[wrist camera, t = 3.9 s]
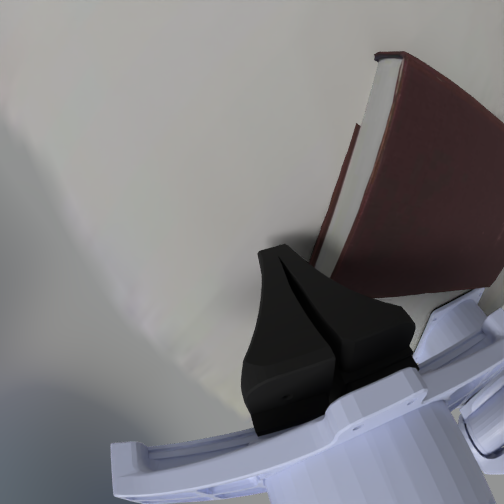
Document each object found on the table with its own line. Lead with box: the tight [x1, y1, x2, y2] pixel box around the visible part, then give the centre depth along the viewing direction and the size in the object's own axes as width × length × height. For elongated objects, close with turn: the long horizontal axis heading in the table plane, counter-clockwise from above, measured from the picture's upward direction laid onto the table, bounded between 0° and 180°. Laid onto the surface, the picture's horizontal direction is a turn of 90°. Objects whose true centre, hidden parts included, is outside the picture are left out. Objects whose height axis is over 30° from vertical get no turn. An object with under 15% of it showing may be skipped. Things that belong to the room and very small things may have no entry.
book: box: [309, 51, 504, 298], centre depth 16 cm, size 12×19×3 cm, turn 78°
